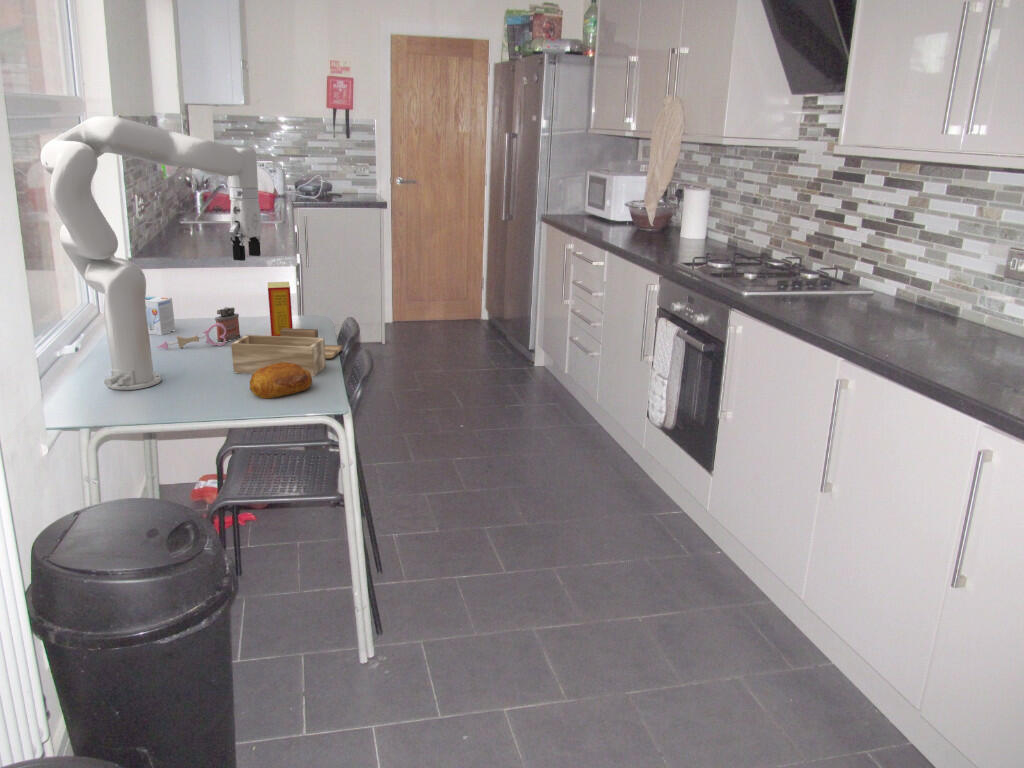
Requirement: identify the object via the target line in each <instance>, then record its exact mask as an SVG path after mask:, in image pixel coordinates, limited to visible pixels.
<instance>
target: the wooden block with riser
mask: <svg viewBox="0 0 1024 768" xmlns="http://www.w3.org/2000/svg"><path fill="white" fill-rule="evenodd" d="M318 331H319V330H318V329H315V328H314V329H313V328H294V327H293V328H283V329H282V330H280V334H281V336H287V337H311V338H319V332H318ZM342 350H343V345H340V344H339V345H334V344H325V358H326V360H329V359H333V358H334V357H336V355H338V354H339V353H340V352H341V351H342Z"/></svg>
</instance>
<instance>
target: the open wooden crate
mask: <svg viewBox="0 0 1024 768" xmlns="http://www.w3.org/2000/svg"><path fill="white" fill-rule="evenodd" d="M325 345H326V342H325V337H318V338H311V337H287V336H271V335H260V334H259V335H256V334H246V335H243V336H242V337H241V338H240V339H237V340H235V341H234V342H232V343H231V344H230V347H231V358H232V367H233V373H234V372H237V373H236V374H242V373H249V374H248V375H253V374H254V373H255V372H256V371H257V370H258V369H260V368H263V367H265V366H269V365H272V364H275V363H280V362H283V363H284V362H287V363H294V364H298V365H299V366H300V367H302V368H303V369H305V370H308V371H309V372H310V374H311V378H314V377H316V376H317V375H318V374H319V373H320V372H321V371H322V370H324V369H325V368H326V367H327V363H326V362H327V359H326V358H325Z"/></svg>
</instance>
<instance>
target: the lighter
mask: <svg viewBox="0 0 1024 768" xmlns="http://www.w3.org/2000/svg"><path fill="white" fill-rule="evenodd" d="M235 310H236V309H235V307H224V308H220V309H217V310H216V314H217V315H219V316H217V317H216V316H215V317H214V321H215V324H216V323H219V324H222V325H224V327H225V328H226V334H225V336H224V337H225V338H226V341H229V340H233V341H235V340H234V339H237V340H239V339H238V338H240V337H241V333H240V322H239V317H240V316H239V313H237V312H236V313H235ZM215 328H216V334H217V339H216V341H218V342H224V339H223V338H221V337H220V336H221V335H223V334H224V332H225V331H224V329H223V328H222V327H221V326H215ZM241 338H242V337H241ZM241 338H240V339H241ZM218 342H217V343H218ZM229 342H230V341H229Z"/></svg>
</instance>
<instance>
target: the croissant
mask: <svg viewBox="0 0 1024 768" xmlns="http://www.w3.org/2000/svg"><path fill="white" fill-rule="evenodd" d="M312 383H313V377H311V374H310V372H309V371H308V370H305V369H303V368H302V367H300V366H299V365H298V364H294V363H287V362H284V363H283V362H280V363H275V364H272V365H269V366H265V367H263V368H260V369H258V370H257V371H256V372H255V373H254V374H251V377H250V381H249V390H251V392H252V393H253V395H254V396H256V397H259V398H260V399H266V398H267V399H275V398H279V397H280V398H281V397H285V396H289V395H290V396H291V395H293V394H296V393H300V392H302V391H303V392H304V391H305V390H307V389H309V388H311V385H312Z"/></svg>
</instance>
